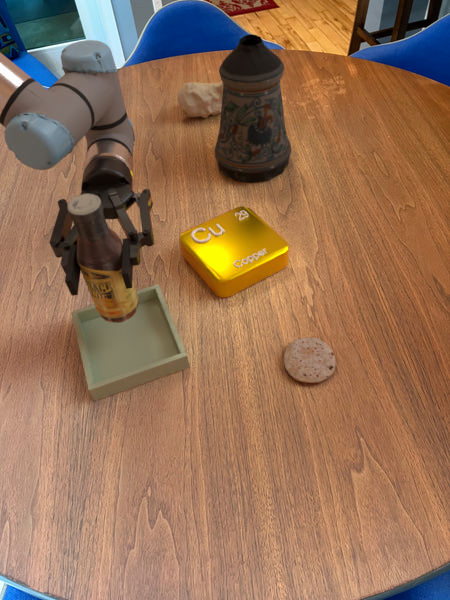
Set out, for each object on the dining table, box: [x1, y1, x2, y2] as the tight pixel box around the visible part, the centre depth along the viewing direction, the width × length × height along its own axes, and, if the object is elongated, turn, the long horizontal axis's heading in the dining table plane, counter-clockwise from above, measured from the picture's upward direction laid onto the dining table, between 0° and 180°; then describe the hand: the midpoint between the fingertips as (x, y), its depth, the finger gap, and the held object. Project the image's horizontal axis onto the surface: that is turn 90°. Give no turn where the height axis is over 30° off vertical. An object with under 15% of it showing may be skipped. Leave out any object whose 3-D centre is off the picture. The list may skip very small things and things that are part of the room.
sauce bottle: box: [67, 194, 139, 323], centre depth 64 cm, size 6×6×20 cm
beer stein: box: [214, 33, 292, 184], centre depth 97 cm, size 16×19×25 cm
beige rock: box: [177, 79, 223, 119], centre depth 119 cm, size 15×7×15 cm
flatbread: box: [283, 336, 336, 384], centre depth 71 cm, size 8×8×1 cm
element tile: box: [179, 205, 290, 298], centre depth 85 cm, size 15×15×5 cm
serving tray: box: [70, 283, 191, 402], centre depth 74 cm, size 16×15×3 cm
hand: (99, 284), depth 60 cm, fingers closed on sauce bottle, 6 cm apart
